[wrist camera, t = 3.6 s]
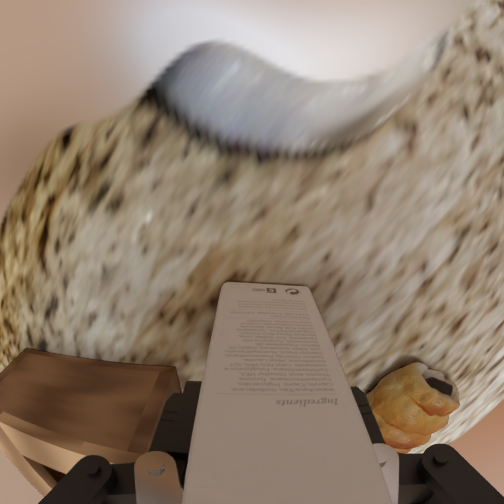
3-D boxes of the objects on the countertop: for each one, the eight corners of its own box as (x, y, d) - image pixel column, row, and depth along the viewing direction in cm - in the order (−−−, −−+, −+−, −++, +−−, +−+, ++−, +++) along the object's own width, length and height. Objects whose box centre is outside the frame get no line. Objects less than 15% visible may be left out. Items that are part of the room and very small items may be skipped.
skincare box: (219, 279, 14) (141, 552, 2) (314, 283, 14) (418, 540, 2) (220, 379, 16) (188, 587, 4) (299, 382, 16) (329, 587, 4)
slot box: (175, 367, 16) (139, 468, 9) (208, 484, 19) (200, 551, 12) (25, 347, 16) (-30, 405, 9) (89, 462, 20) (65, 515, 13)
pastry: (374, 454, 19) (386, 489, 15) (309, 441, 18) (315, 483, 14) (455, 373, 16) (480, 405, 12) (397, 346, 15) (423, 386, 12)
